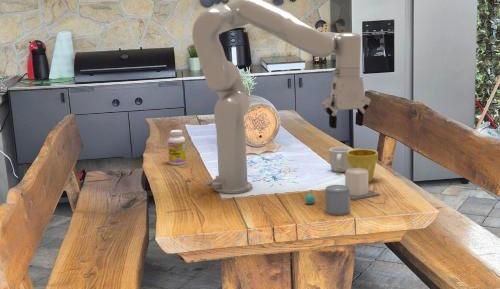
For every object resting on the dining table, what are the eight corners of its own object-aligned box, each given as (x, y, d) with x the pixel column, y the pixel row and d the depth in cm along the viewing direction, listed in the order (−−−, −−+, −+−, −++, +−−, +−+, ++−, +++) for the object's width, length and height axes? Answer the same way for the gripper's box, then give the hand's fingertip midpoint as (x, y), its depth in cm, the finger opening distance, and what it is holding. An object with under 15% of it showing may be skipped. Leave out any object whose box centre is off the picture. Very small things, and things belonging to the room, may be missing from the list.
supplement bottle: (166, 164, 278) (164, 132, 275) (174, 160, 284) (172, 128, 281) (181, 165, 276) (179, 132, 273) (189, 161, 282) (187, 129, 279)
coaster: (352, 200, 224) (352, 198, 224) (335, 192, 233) (335, 191, 233) (379, 195, 228) (379, 193, 228) (361, 188, 237) (361, 186, 237)
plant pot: (359, 185, 240) (359, 157, 238) (341, 179, 249) (340, 151, 247) (384, 181, 245) (384, 153, 243) (365, 174, 254) (365, 147, 252)
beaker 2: (353, 196, 226) (353, 174, 225) (342, 191, 232) (341, 169, 231) (371, 193, 229) (372, 171, 228) (359, 188, 235) (359, 167, 234)
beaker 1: (334, 216, 209) (333, 192, 208) (321, 210, 215) (321, 186, 214) (353, 212, 212) (353, 188, 211) (341, 206, 218) (340, 183, 217)
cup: (350, 175, 253) (350, 153, 252) (327, 175, 255) (327, 153, 253) (352, 168, 264) (352, 146, 262) (330, 167, 265) (330, 146, 264)
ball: (308, 205, 220) (308, 196, 220) (303, 203, 223) (303, 193, 222) (316, 204, 222) (316, 194, 221) (311, 201, 224) (311, 192, 224)
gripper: (329, 75, 220) (328, 130, 223) (377, 72, 227) (375, 126, 230) (317, 72, 226) (316, 126, 230) (364, 70, 233) (362, 122, 237)
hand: (346, 126), depth 230 cm, fingers open, 9 cm apart
